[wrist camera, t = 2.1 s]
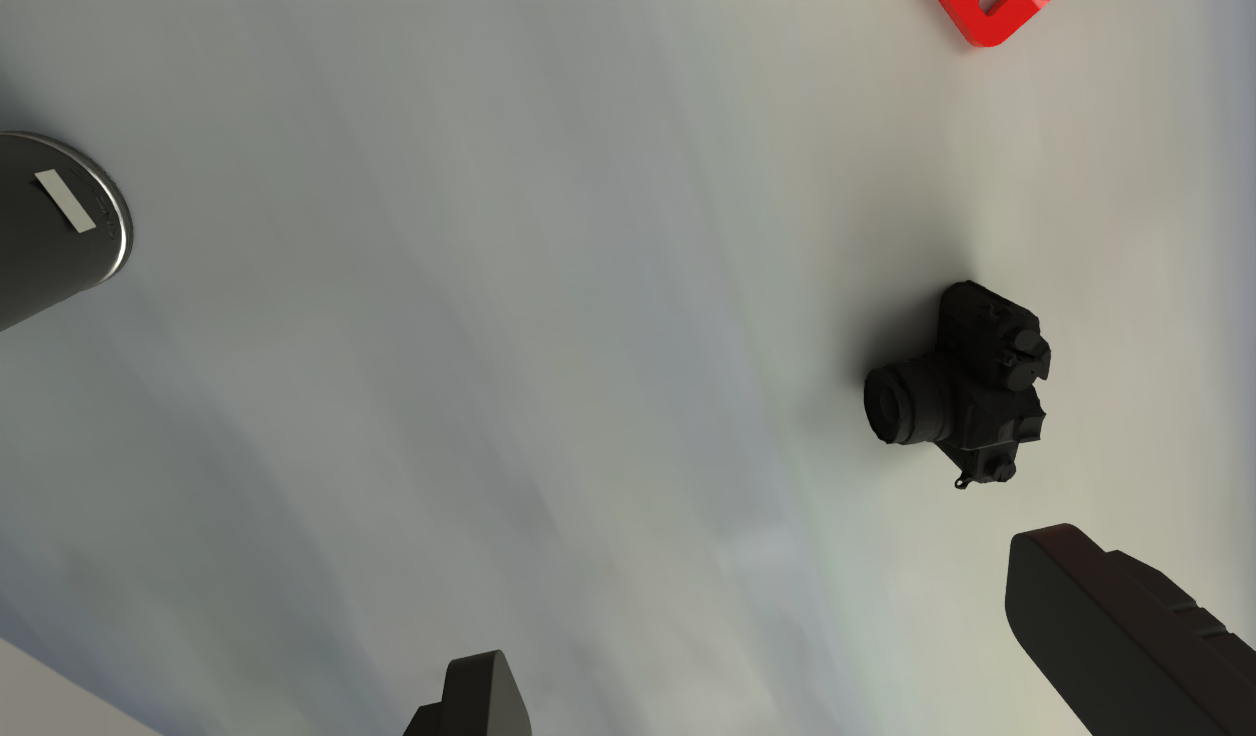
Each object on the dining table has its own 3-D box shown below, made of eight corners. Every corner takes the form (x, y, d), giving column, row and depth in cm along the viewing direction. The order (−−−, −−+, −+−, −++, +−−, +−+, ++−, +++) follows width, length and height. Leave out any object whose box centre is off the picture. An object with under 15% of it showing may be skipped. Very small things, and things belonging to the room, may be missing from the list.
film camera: (867, 289, 48) (933, 336, 40) (991, 272, 48) (1082, 315, 40) (855, 458, 54) (910, 528, 46) (964, 441, 55) (1037, 507, 47)
